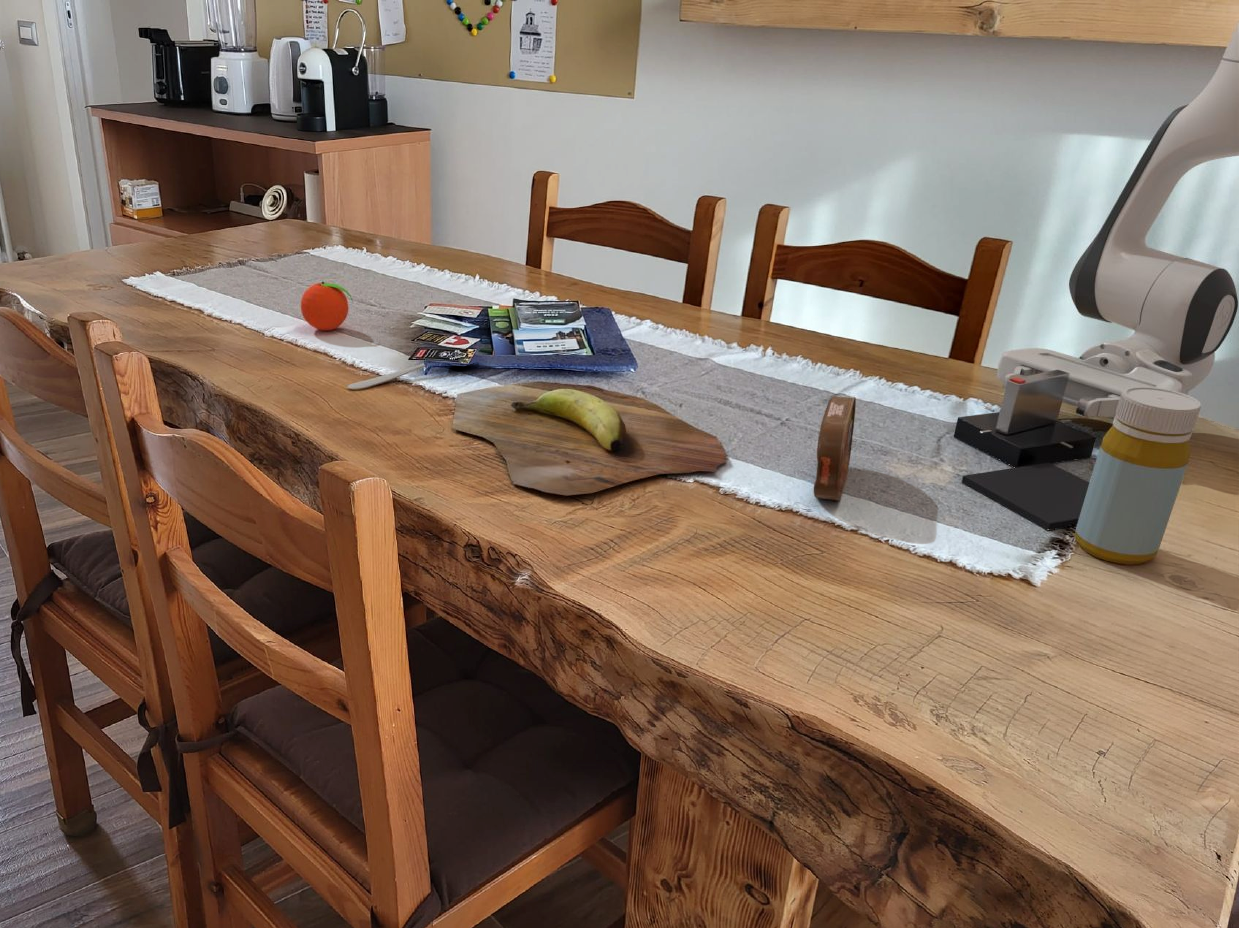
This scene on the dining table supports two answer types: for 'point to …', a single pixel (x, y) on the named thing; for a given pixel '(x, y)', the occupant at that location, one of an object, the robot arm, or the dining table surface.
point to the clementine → (325, 306)
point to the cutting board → (582, 436)
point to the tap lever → (1032, 401)
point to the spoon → (382, 378)
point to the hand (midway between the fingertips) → (1044, 395)
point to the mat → (1035, 492)
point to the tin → (834, 448)
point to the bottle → (1137, 475)
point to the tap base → (1025, 441)
